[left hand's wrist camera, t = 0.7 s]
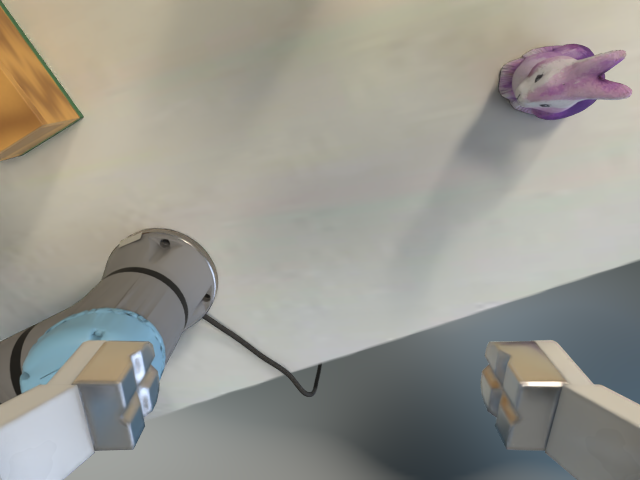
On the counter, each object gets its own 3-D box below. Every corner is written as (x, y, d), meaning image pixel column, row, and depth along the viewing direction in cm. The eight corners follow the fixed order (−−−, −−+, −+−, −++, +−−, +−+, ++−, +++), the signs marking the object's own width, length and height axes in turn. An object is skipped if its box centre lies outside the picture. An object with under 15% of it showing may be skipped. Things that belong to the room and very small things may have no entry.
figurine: (476, 86, 52) (534, 91, 38) (548, 20, 49) (639, 0, 35) (521, 142, 54) (591, 167, 40) (592, 82, 52) (693, 86, 38)
